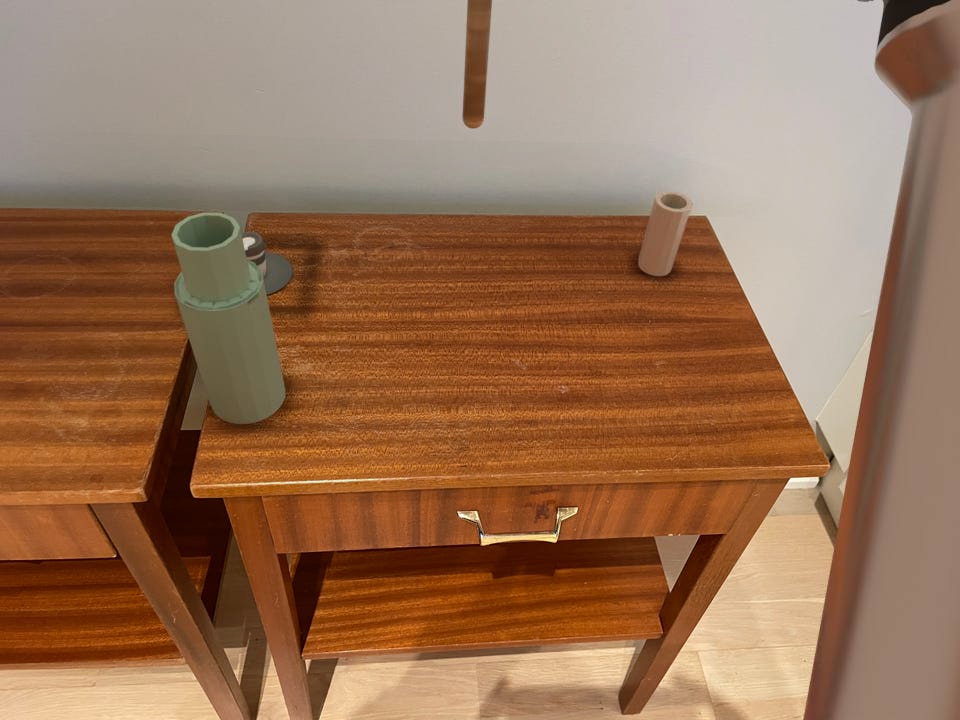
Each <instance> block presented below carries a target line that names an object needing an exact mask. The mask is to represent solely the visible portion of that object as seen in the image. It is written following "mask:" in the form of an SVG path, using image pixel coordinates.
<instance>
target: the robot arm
mask: <svg viewBox="0 0 960 720" xmlns="http://www.w3.org/2000/svg"><path fill="white" fill-rule="evenodd" d="M874 1H875V0H857V2H861V3H868V2H874ZM882 3H883V9H882V15H881V22H880V27H879V31H878V39H877V45H876V51H875V57H874V64H873V65H874V71H875V74H876V75H877V77H878V79H879V80H880V81H881V82H882V83H883V84H884V85H885V86H886V87H887V88H888V89H889V90H890V92H892V93H893V94H894V95H895V96H896V97H897V99H898V100H899V101H900V102H902V104H903V105H904V106H905V107H906V108H907V109H908V110H909V112H910V114H911V124H910V128H909V134H908V137H907V138H908V139H907V144H906V149H905V156H904V161H903V165H902V171H901V177H900V183H899V189H898V193H897V200H896V205H895V210H894V217H893V222H892V228H891V232H890V238H889V244H888V249H887V254H886V260H885V266H884V272H883V277H882V283H881V288H880V293H879V298H878V303H877V310H876V316H875V321H874V327H873V332H872V338H871V343H870V349H869V353H868V354H869V355H868V360H867V366H866V371H865V376H864V381H863V387H862V393H861V398H860V404H859V409H858V414H857V420H856V425H855V432H854V436H853V442H852V447H851V454H850V460H849V465H848V470H847V476H846V479H845V480H846V481H845V488H844V492H843V499H842V503H841V509H840V515H839V519H838V524H837V525H838V526H837V531H836V536H835V542H834V548H833V552H832V559H831V564H830V568H829V569H830V570H829V575H828V579H827V585H826V592H825V597H824V601H823V602H824V603H823V607H822V613H821V618H820V624H819V630H818V636H817V641H816V647H815V652H814V657H813V661H812V662H813V663H812V669H811V674H810V679H809V685H808V691H807V696H806V701H805V707H804V712H803V718H802V720H960V0H882Z"/></svg>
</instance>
